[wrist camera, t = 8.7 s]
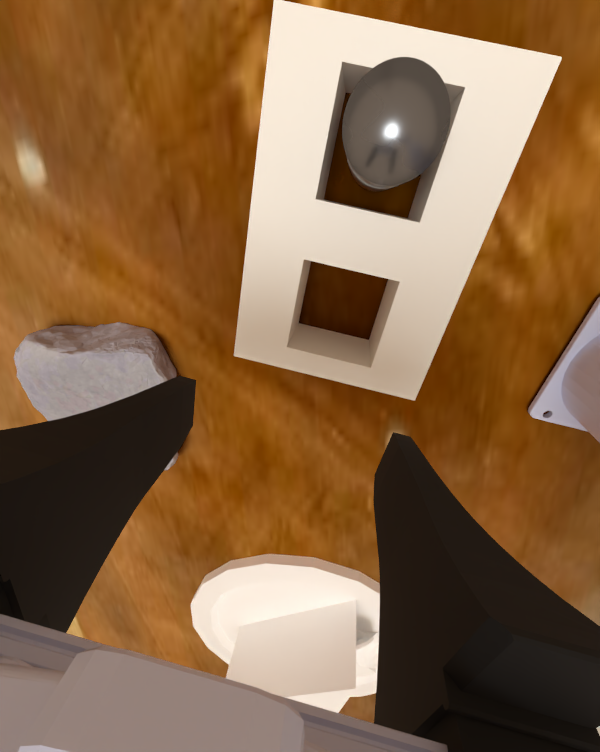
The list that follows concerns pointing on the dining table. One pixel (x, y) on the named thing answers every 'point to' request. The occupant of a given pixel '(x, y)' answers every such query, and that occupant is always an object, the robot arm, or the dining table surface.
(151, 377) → the stone block
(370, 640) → the dish
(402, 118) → the peg
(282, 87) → the hole block
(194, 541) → the dining table surface
